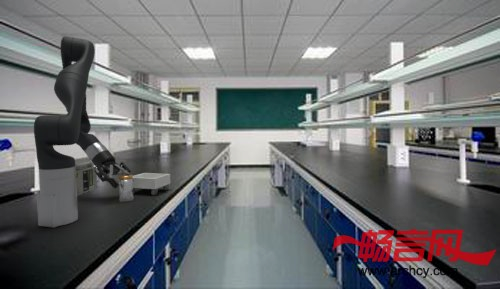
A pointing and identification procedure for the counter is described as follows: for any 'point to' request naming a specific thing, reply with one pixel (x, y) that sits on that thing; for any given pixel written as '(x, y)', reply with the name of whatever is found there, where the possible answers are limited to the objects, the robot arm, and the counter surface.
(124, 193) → the canister
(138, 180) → the parts cart
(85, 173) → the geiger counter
